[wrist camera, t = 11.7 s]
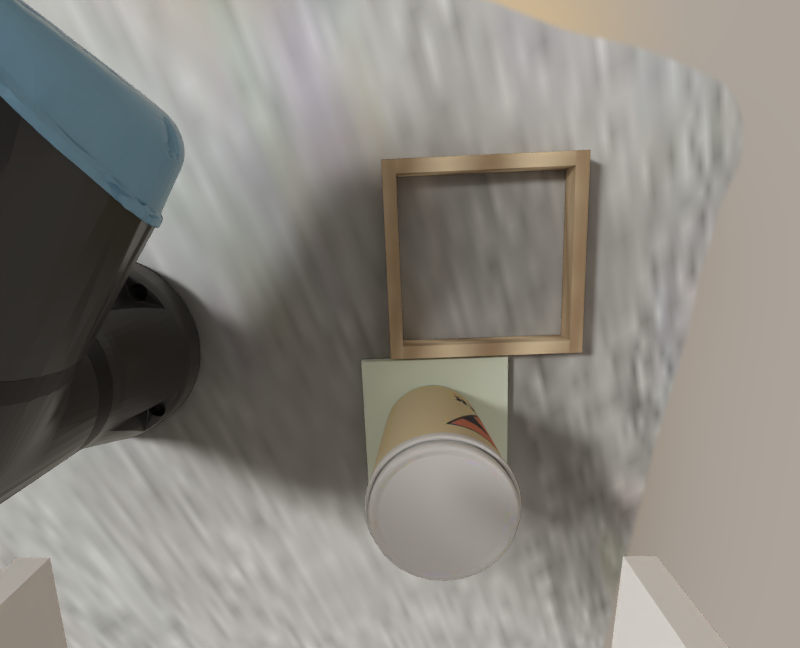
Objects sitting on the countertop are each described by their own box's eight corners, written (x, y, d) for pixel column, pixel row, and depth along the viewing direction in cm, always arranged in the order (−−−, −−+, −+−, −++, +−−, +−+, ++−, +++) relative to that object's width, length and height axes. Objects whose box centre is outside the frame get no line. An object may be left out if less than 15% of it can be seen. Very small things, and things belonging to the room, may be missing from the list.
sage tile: (369, 488, 39) (369, 493, 39) (362, 359, 37) (361, 362, 36) (504, 484, 39) (506, 490, 38) (505, 354, 37) (507, 357, 36)
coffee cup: (504, 453, 38) (548, 553, 26) (404, 493, 39) (402, 606, 27) (461, 357, 36) (488, 416, 24) (358, 400, 37) (336, 478, 25)
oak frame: (391, 352, 37) (390, 359, 35) (382, 163, 34) (381, 159, 32) (572, 346, 37) (581, 352, 35) (579, 154, 34) (590, 149, 32)
